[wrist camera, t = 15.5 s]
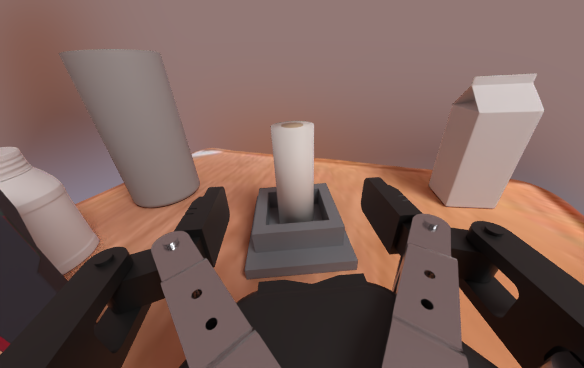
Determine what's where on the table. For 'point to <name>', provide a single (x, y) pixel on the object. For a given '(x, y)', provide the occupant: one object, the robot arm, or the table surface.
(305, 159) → the paper roll
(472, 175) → the milk carton
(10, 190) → the jar
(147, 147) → the cylinder vase
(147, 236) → the table surface
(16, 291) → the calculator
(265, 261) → the roll holder
